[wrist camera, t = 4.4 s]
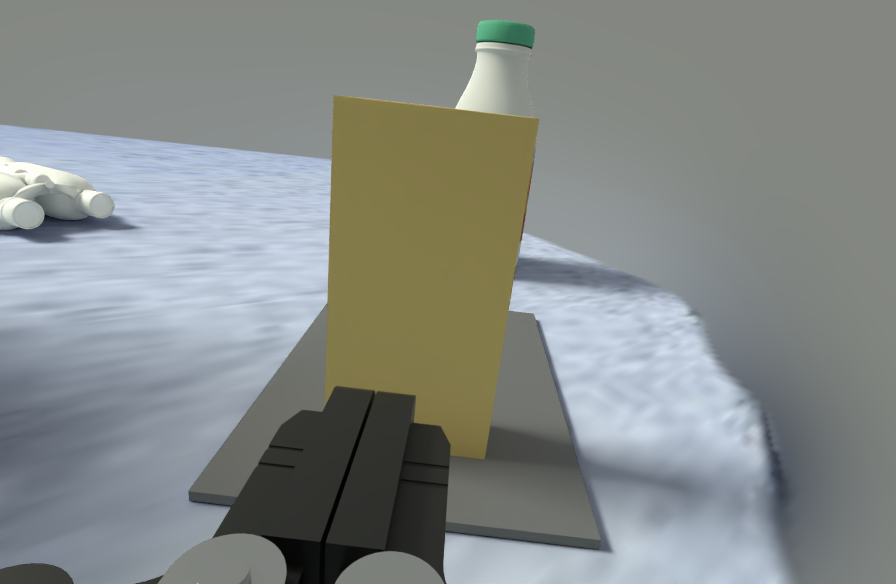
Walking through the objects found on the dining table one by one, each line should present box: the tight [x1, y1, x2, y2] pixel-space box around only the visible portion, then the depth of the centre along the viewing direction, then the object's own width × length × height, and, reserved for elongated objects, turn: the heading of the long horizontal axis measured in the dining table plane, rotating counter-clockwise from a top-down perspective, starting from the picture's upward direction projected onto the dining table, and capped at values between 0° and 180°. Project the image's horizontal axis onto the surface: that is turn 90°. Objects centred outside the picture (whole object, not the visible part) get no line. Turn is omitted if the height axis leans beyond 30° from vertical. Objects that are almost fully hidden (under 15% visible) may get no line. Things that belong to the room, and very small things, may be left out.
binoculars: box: [0, 157, 115, 230], centre depth 46 cm, size 10×16×5 cm, turn 66°
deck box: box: [325, 95, 539, 459], centre depth 19 cm, size 2×6×13 cm, turn 87°
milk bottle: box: [455, 20, 536, 266], centre depth 44 cm, size 8×8×20 cm
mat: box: [189, 303, 601, 549], centre depth 27 cm, size 20×14×1 cm
